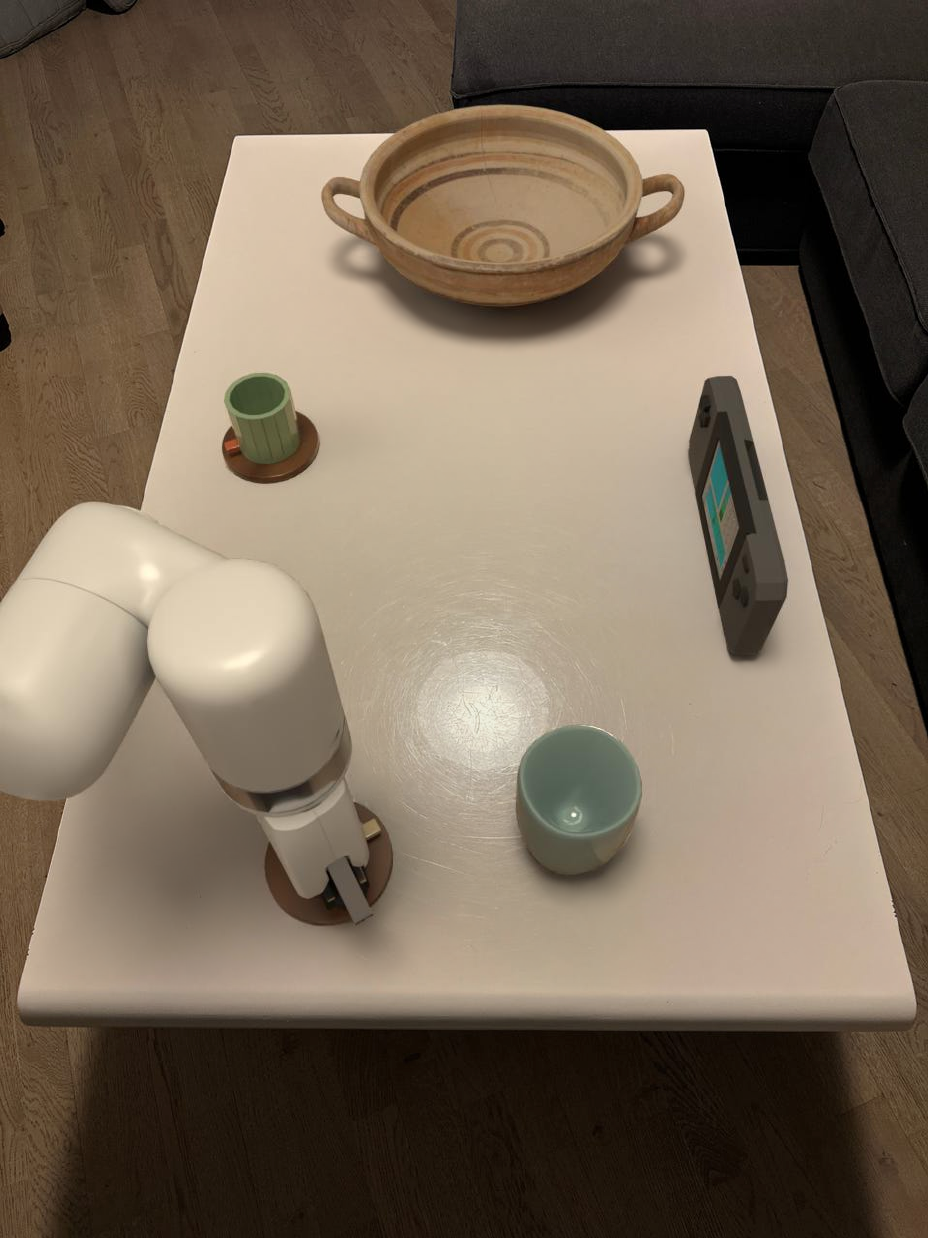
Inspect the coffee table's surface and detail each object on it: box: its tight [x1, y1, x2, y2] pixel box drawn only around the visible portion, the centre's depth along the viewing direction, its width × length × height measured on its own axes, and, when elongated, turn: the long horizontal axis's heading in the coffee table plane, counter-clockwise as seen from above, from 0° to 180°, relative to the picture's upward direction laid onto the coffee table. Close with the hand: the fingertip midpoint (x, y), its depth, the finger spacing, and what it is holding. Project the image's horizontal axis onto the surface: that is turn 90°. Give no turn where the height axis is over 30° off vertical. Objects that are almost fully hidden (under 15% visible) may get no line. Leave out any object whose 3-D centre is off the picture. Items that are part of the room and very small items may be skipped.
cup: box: [515, 724, 643, 876], centre depth 63 cm, size 8×8×10 cm
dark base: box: [263, 801, 394, 927], centre depth 66 cm, size 9×9×1 cm
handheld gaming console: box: [688, 375, 789, 655], centre depth 77 cm, size 23×3×10 cm, turn 1°
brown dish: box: [221, 410, 320, 484], centre depth 88 cm, size 9×9×1 cm
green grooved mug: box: [223, 372, 301, 464], centre depth 86 cm, size 6×7×6 cm
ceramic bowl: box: [320, 104, 686, 307], centre depth 99 cm, size 37×29×10 cm
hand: (326, 853), depth 65 cm, fingers closed on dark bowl, 5 cm apart
